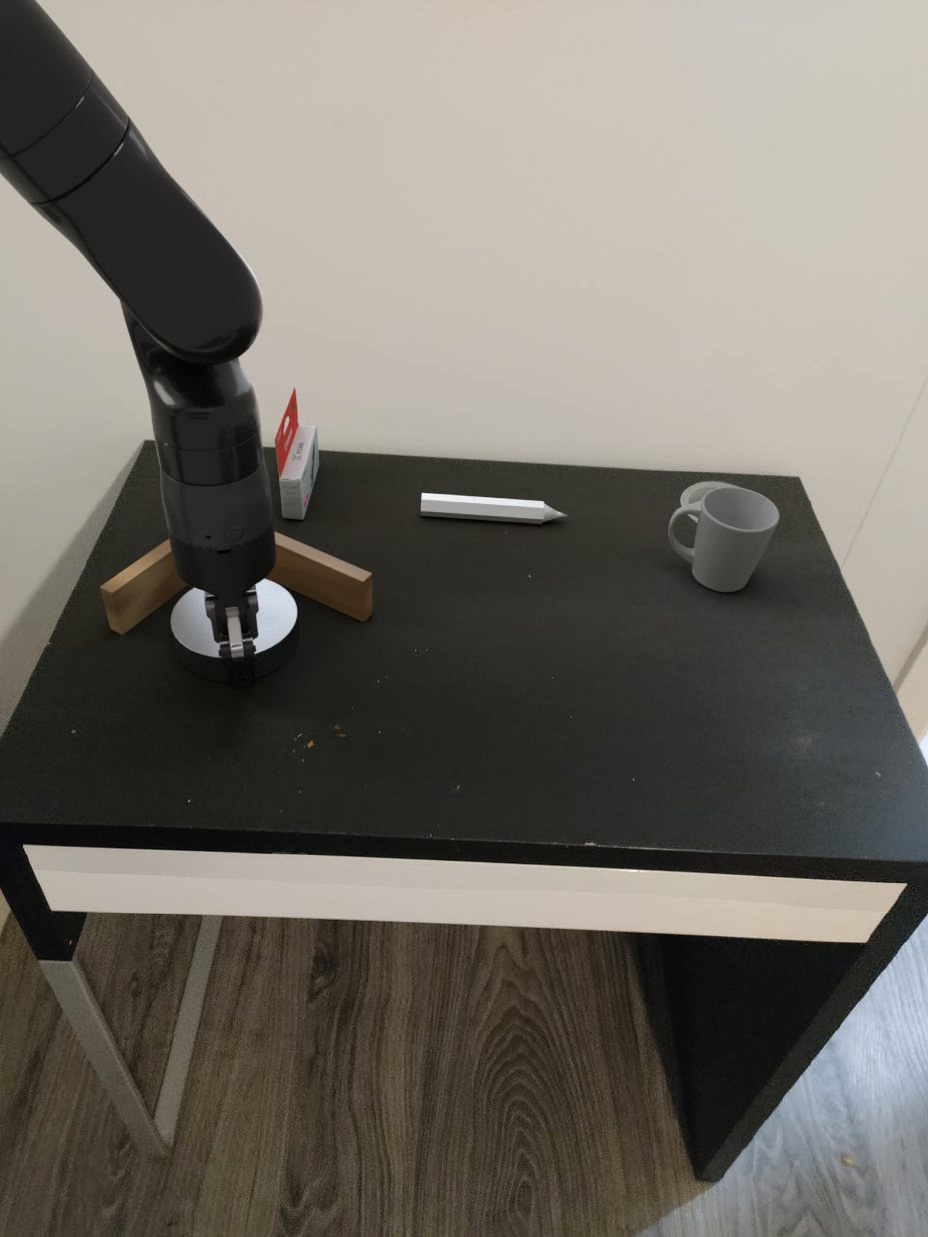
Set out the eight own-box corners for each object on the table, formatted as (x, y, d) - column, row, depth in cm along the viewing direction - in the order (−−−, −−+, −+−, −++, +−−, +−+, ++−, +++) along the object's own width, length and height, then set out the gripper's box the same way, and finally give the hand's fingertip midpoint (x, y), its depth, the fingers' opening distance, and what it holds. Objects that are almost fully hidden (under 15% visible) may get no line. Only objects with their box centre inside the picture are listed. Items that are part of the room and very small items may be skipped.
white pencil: (566, 528, 102) (420, 517, 101) (566, 511, 102) (421, 500, 102) (570, 518, 99) (420, 507, 99) (570, 500, 100) (422, 489, 99)
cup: (756, 606, 93) (781, 537, 87) (656, 587, 94) (674, 518, 88) (756, 560, 98) (779, 493, 93) (661, 543, 100) (678, 476, 94)
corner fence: (272, 712, 78) (267, 670, 75) (110, 629, 84) (99, 586, 81) (372, 614, 88) (372, 573, 85) (221, 546, 94) (215, 505, 91)
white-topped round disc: (245, 700, 79) (242, 675, 77) (148, 650, 83) (143, 625, 81) (323, 628, 86) (322, 603, 84) (231, 585, 90) (228, 560, 88)
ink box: (320, 464, 107) (316, 387, 100) (303, 521, 98) (298, 441, 92) (298, 462, 107) (293, 385, 100) (280, 519, 98) (273, 439, 92)
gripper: (163, 467, 71) (193, 635, 82) (167, 574, 61) (200, 747, 73) (263, 459, 73) (279, 624, 84) (282, 562, 63) (297, 733, 75)
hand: (242, 681), depth 78 cm, fingers closed
